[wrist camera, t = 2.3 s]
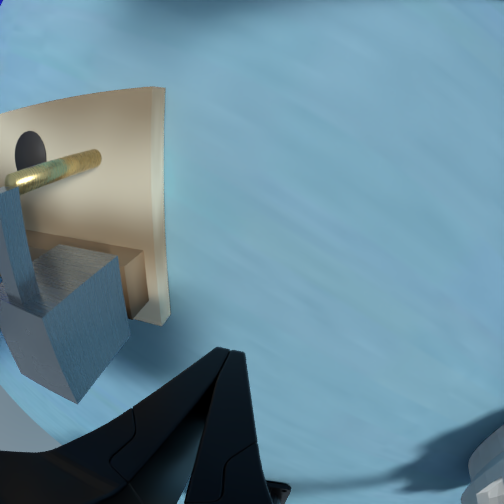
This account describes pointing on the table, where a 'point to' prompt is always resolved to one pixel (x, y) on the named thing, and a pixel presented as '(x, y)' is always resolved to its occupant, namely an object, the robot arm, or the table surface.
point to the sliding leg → (57, 293)
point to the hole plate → (99, 185)
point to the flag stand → (487, 472)
